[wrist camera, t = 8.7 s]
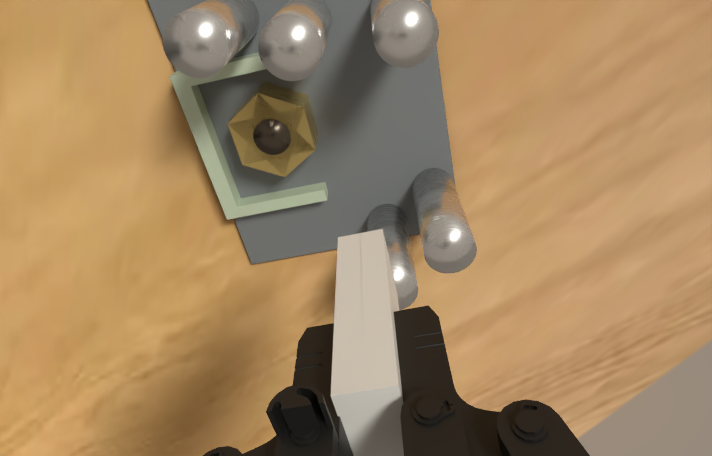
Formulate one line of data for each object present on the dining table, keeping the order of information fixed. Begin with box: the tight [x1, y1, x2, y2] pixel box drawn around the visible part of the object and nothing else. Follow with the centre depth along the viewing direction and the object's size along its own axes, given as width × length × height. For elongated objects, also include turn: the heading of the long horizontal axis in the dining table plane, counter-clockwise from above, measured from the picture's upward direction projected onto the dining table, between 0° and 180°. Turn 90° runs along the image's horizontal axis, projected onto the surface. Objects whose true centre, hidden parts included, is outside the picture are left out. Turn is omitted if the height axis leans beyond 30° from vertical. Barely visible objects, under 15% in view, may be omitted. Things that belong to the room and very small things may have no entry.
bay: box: [169, 52, 328, 220], centre depth 32 cm, size 7×10×1 cm
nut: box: [228, 82, 319, 177], centre depth 31 cm, size 5×5×3 cm
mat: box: [148, 0, 455, 264], centre depth 32 cm, size 16×20×1 cm
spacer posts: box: [163, 0, 477, 310], centre depth 29 cm, size 12×18×8 cm
